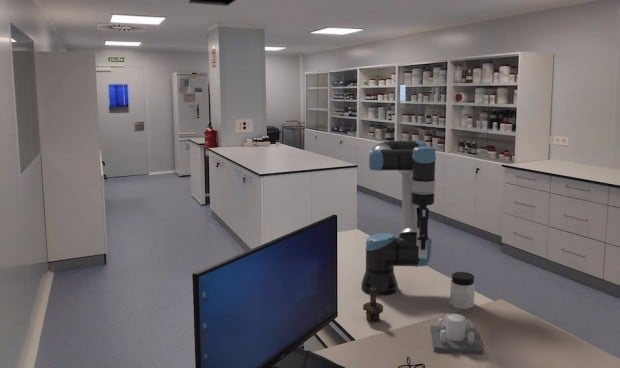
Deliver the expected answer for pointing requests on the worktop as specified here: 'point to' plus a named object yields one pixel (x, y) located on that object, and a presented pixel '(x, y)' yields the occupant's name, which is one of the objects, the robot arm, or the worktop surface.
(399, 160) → the robot arm
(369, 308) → the industrial component
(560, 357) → the worktop surface
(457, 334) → the shot glass
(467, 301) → the jar
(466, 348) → the pin plate
